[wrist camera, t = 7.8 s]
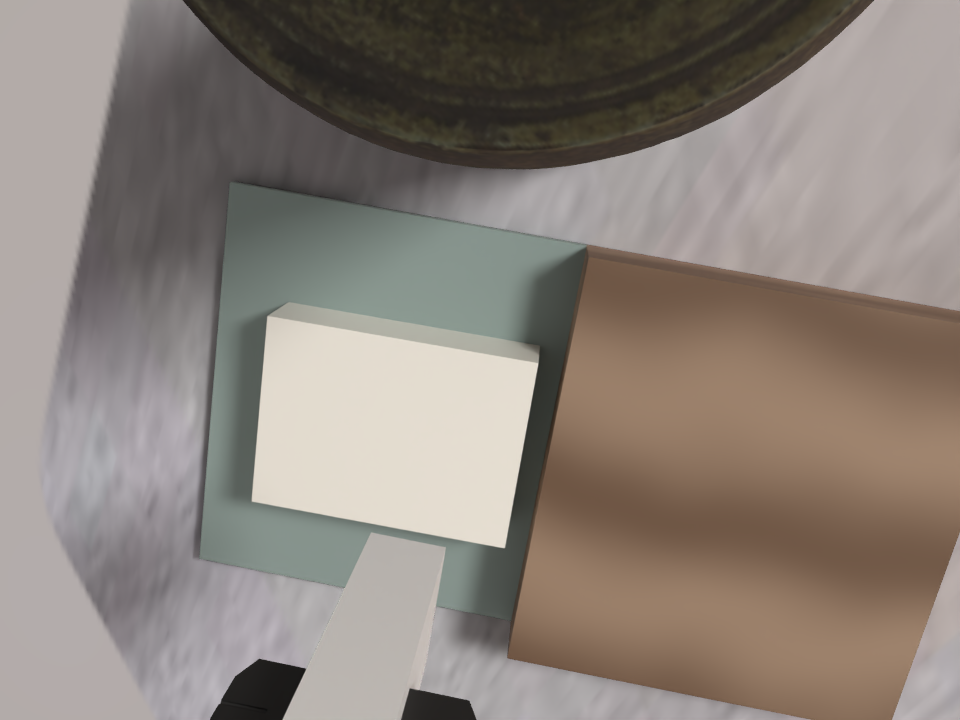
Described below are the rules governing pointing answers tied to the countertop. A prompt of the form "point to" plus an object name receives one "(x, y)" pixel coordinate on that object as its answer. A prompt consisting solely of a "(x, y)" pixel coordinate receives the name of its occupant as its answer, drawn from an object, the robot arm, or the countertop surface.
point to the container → (523, 68)
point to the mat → (389, 295)
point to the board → (743, 489)
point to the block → (392, 422)
